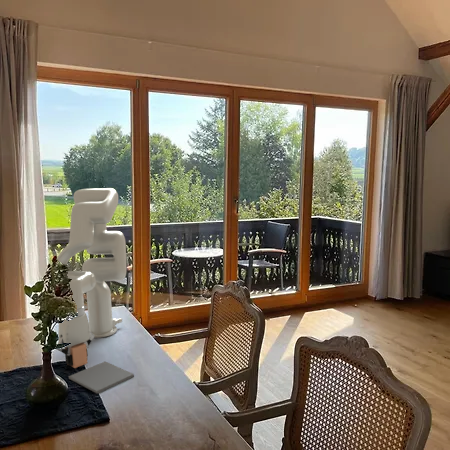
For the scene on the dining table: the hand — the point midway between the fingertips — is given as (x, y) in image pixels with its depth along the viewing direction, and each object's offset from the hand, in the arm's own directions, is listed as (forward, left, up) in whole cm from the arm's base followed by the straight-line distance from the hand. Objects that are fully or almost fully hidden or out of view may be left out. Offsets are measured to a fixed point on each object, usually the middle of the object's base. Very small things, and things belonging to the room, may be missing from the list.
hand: (77, 361), depth 159 cm
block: (0, 0, -1) cm, 1 cm away
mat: (+1, +16, -1) cm, 16 cm away
